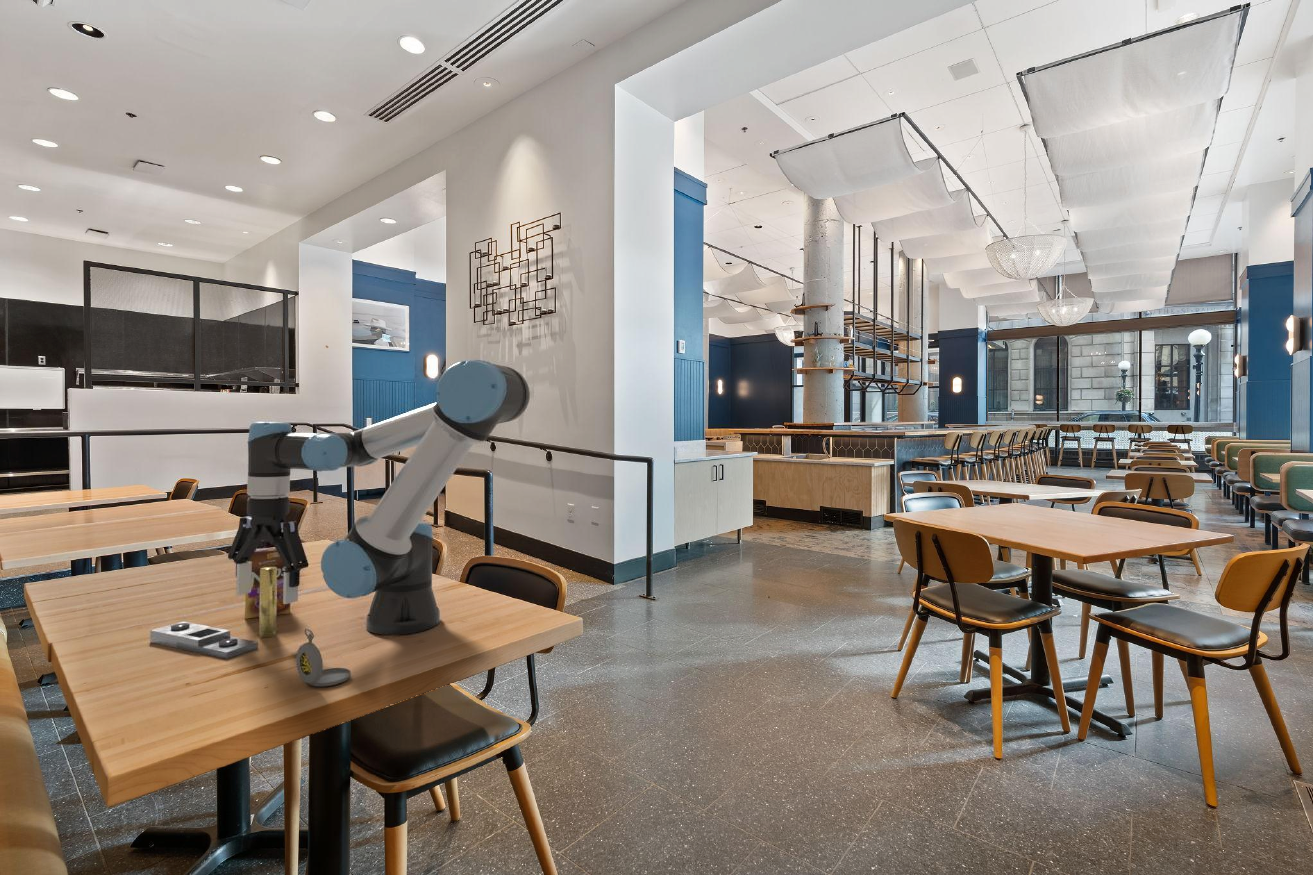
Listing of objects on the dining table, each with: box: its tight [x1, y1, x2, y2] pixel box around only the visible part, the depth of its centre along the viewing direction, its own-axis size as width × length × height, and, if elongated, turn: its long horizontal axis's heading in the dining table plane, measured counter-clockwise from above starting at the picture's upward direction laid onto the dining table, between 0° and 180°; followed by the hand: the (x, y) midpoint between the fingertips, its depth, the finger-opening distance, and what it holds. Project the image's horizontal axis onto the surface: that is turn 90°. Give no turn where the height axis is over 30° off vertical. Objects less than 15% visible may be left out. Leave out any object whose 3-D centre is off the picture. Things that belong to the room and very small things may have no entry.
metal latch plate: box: [149, 620, 259, 660], centre depth 124 cm, size 22×6×3 cm, turn 69°
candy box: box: [244, 547, 291, 620], centre depth 144 cm, size 9×4×15 cm, turn 123°
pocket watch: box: [295, 628, 352, 687], centre depth 108 cm, size 8×8×10 cm
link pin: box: [258, 567, 277, 639], centre depth 130 cm, size 3×3×14 cm
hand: (266, 598), depth 130 cm, fingers open, 13 cm apart
